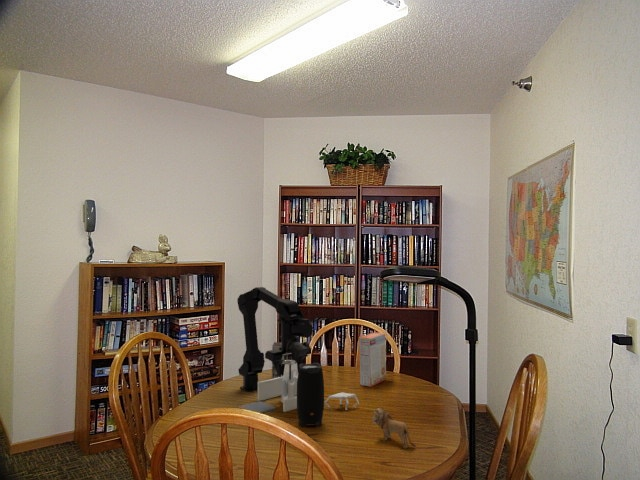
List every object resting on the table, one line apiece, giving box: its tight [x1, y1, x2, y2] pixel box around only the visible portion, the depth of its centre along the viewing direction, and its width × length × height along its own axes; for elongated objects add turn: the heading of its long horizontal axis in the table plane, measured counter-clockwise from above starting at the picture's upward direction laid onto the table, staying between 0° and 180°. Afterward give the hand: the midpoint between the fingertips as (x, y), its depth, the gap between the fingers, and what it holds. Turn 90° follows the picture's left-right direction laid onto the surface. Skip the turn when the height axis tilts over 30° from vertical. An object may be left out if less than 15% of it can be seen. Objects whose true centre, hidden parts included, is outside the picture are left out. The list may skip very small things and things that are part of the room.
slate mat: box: [237, 400, 277, 414], centre depth 174 cm, size 10×10×1 cm
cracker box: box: [358, 331, 387, 388], centre depth 208 cm, size 14×6×21 cm, turn 144°
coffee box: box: [271, 341, 289, 379], centre depth 211 cm, size 9×6×16 cm
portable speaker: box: [296, 362, 325, 428], centre depth 160 cm, size 9×9×20 cm
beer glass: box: [280, 359, 298, 404], centre depth 183 cm, size 7×7×15 cm
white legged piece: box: [324, 391, 360, 411], centre depth 175 cm, size 12×8×5 cm
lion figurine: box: [371, 407, 417, 450], centre depth 145 cm, size 15×5×9 cm, turn 51°
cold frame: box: [257, 377, 298, 413], centre depth 182 cm, size 17×17×7 cm
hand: (288, 374), depth 183 cm, fingers open, 8 cm apart
